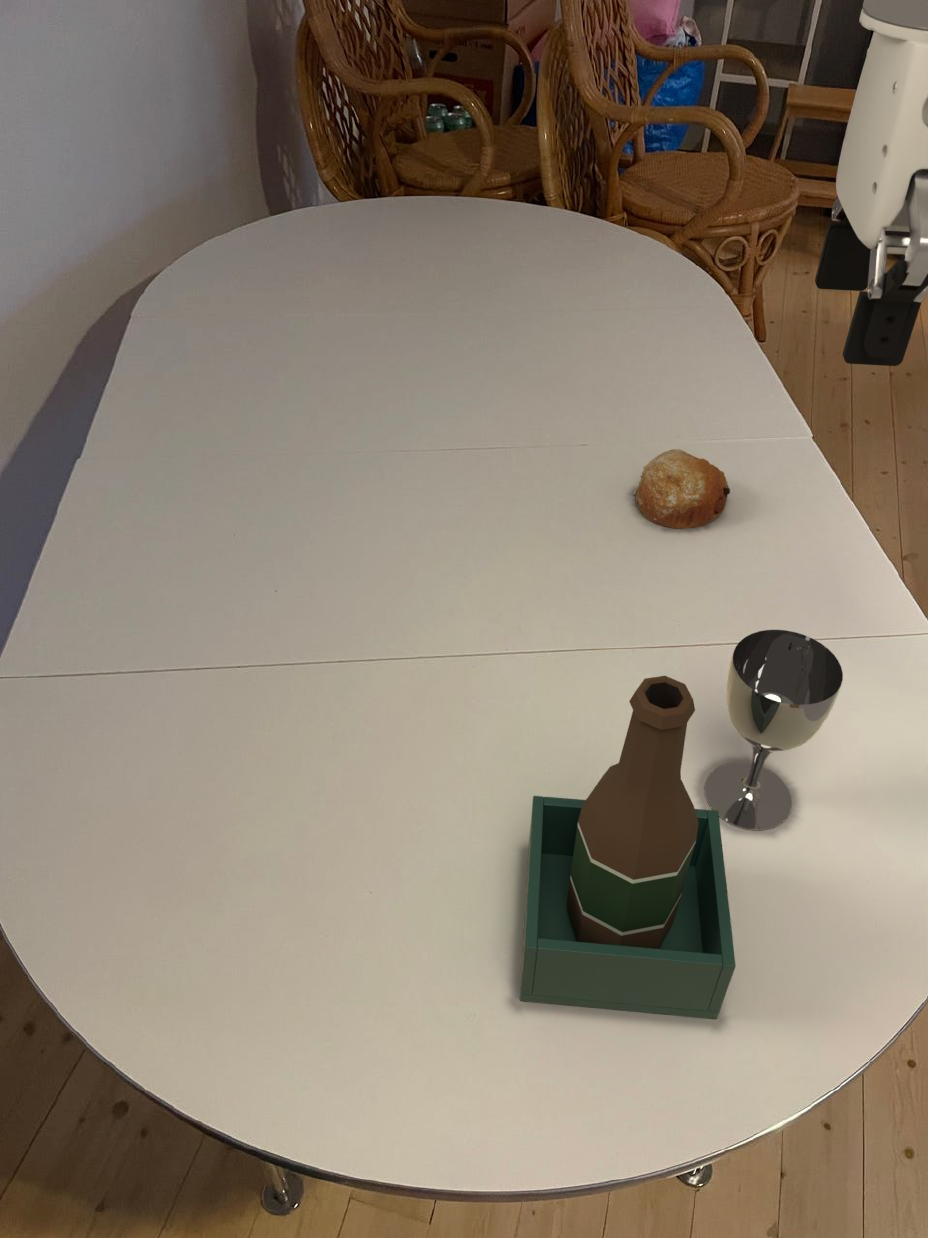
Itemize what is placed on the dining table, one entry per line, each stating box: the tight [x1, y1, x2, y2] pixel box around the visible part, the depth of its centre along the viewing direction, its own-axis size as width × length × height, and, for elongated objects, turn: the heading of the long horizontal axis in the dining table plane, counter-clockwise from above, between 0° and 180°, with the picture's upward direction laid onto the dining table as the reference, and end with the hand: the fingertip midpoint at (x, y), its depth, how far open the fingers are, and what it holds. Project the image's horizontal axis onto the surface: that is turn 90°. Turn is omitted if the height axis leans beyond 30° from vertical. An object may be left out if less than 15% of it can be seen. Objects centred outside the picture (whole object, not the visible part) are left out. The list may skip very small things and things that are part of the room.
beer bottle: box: [567, 675, 699, 949], centre depth 68 cm, size 8×8×24 cm
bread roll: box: [633, 448, 731, 529], centre depth 116 cm, size 10×10×8 cm
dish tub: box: [519, 795, 736, 1020], centre depth 75 cm, size 14×13×7 cm
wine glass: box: [703, 629, 844, 831], centre depth 81 cm, size 8×8×15 cm
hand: (854, 322), depth 62 cm, fingers open, 9 cm apart
